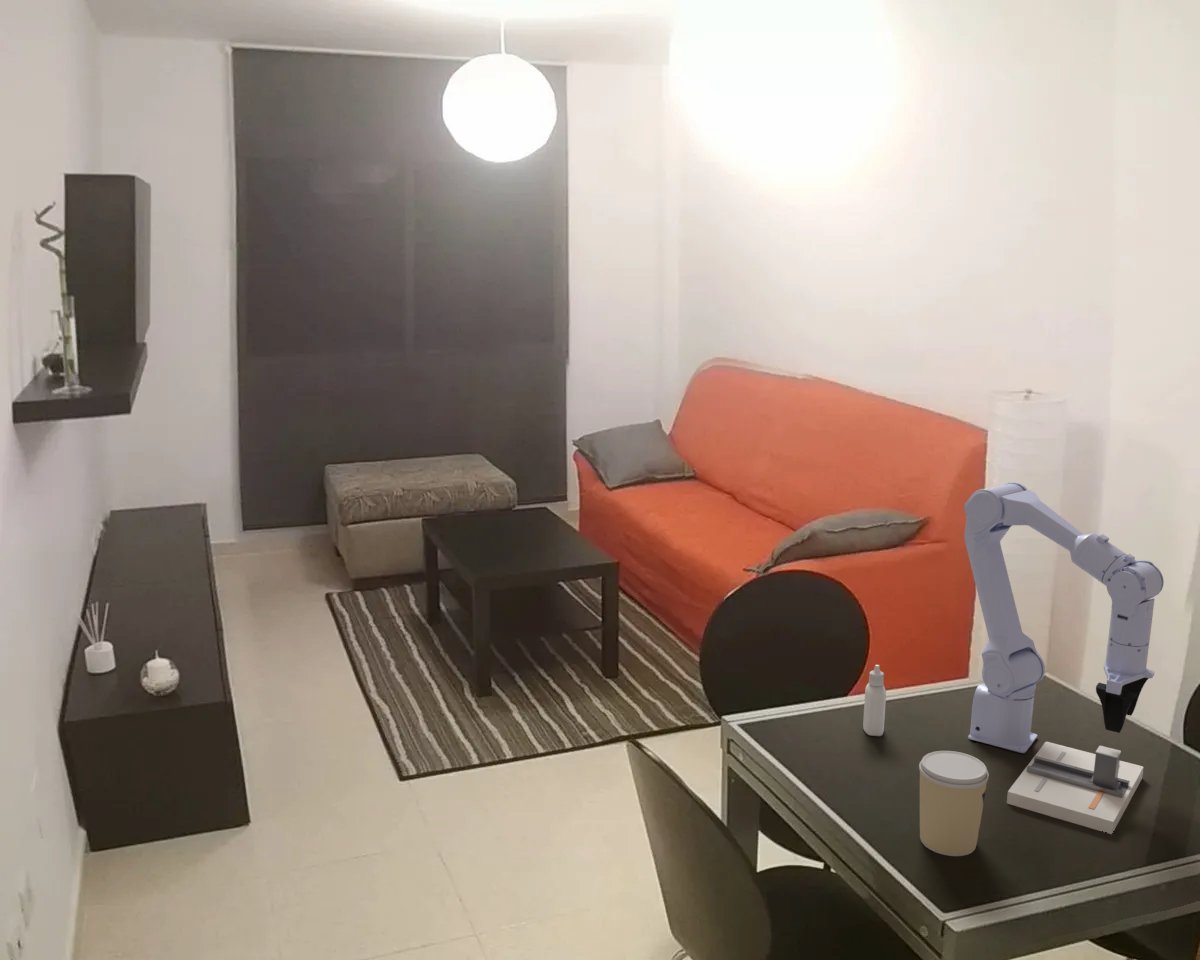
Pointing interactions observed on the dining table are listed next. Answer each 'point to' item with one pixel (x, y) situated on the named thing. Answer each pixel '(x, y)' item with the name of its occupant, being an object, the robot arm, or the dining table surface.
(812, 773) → the dining table surface
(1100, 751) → the fader tab
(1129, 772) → the console
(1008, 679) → the robot arm
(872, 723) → the eye dropper bottle
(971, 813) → the coffee cup
